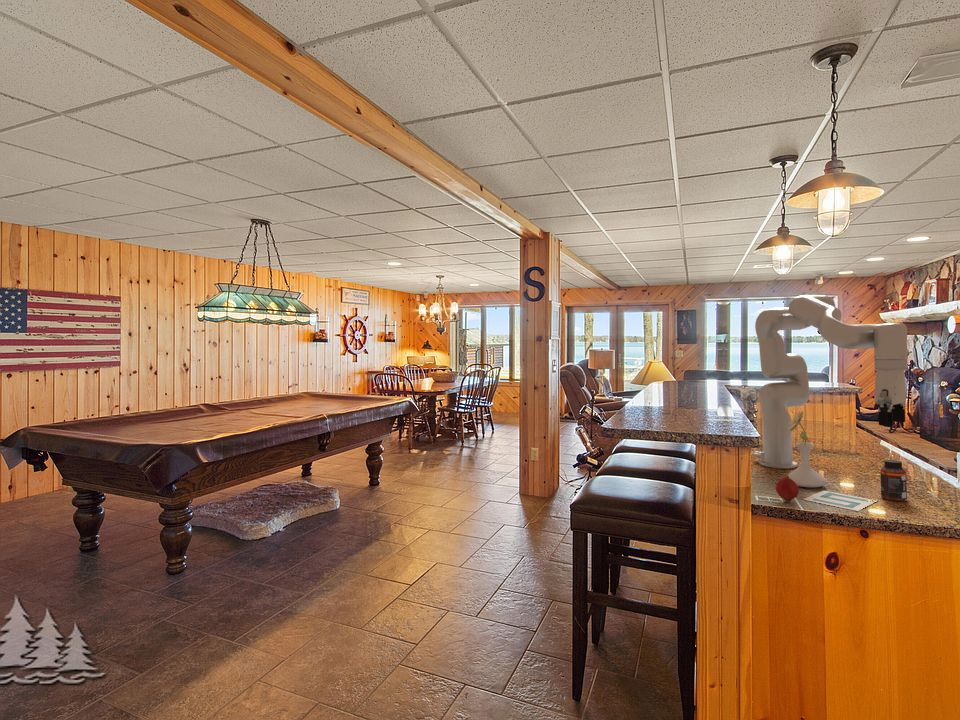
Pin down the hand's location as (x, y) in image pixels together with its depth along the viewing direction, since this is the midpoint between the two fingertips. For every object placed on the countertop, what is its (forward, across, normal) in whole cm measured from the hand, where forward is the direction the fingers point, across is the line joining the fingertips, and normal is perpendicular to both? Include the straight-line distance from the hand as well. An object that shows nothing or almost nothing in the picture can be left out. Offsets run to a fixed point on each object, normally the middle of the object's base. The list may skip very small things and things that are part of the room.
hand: (892, 423), depth 147 cm
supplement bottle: (+22, 0, 0) cm, 23 cm away
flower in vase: (+22, +4, -22) cm, 32 cm away
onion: (+22, +25, -18) cm, 38 cm away
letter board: (+22, +13, -9) cm, 27 cm away
